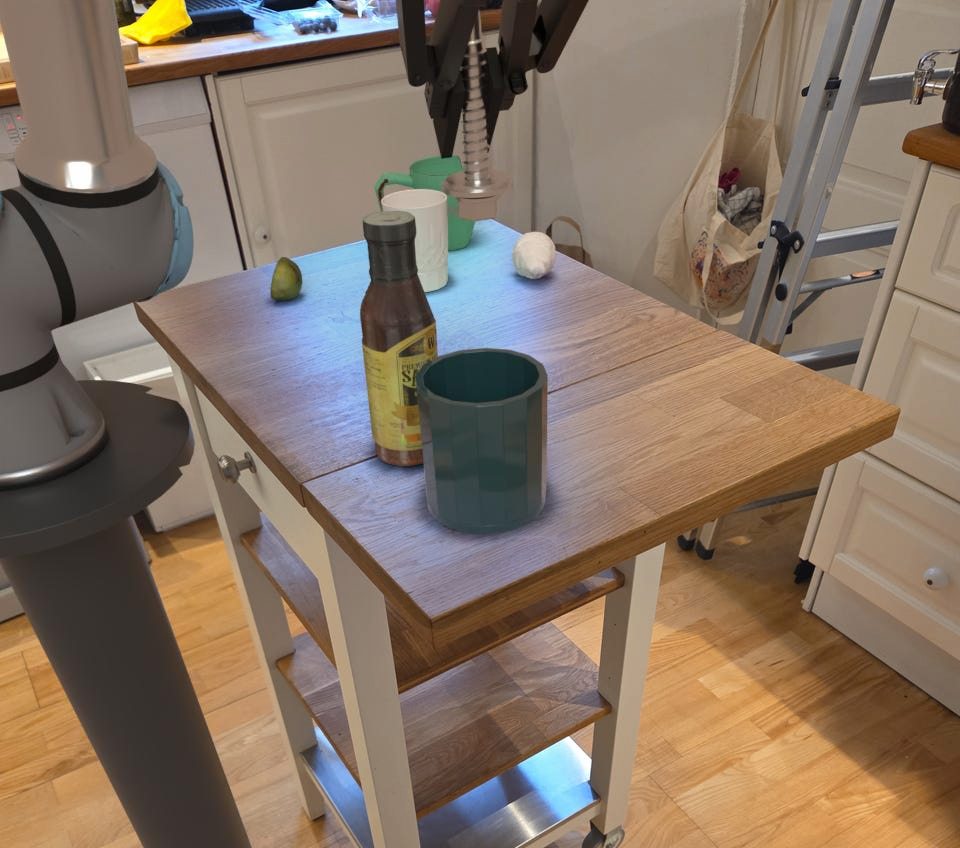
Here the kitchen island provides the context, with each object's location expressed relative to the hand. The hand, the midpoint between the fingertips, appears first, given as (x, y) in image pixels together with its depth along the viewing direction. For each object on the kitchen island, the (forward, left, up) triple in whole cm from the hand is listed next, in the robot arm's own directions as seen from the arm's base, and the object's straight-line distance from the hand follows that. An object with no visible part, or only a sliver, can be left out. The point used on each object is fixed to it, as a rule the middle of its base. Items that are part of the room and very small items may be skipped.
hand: (460, 137), depth 61 cm
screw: (+4, -1, -4) cm, 6 cm away
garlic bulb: (-34, +28, -26) cm, 51 cm away
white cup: (-42, +16, -26) cm, 52 cm away
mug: (-54, +23, -26) cm, 64 cm away
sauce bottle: (-5, -4, -26) cm, 26 cm away
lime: (-47, -1, -26) cm, 54 cm away
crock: (+6, -3, -25) cm, 26 cm away
